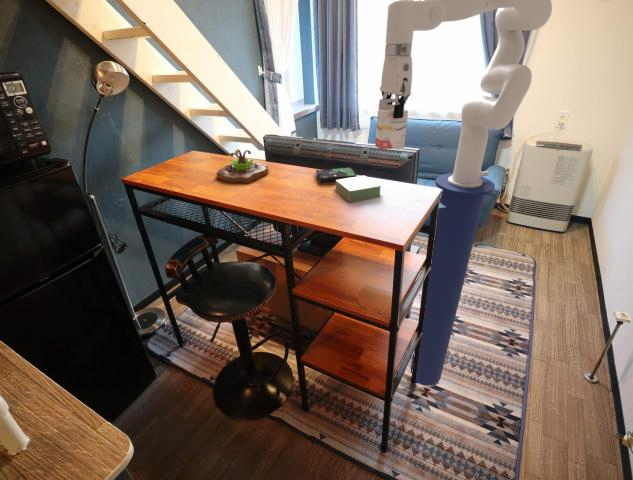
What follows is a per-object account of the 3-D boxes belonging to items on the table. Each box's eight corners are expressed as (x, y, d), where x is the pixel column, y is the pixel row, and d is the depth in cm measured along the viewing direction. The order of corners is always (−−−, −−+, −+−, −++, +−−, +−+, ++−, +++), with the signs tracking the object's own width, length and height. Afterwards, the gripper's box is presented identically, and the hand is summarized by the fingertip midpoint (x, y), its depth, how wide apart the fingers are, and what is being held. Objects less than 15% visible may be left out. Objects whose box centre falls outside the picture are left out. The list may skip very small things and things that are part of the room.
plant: (209, 180, 141) (204, 153, 136) (235, 165, 157) (231, 140, 151) (251, 185, 135) (248, 157, 129) (274, 169, 151) (271, 144, 145)
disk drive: (320, 185, 134) (356, 181, 136) (319, 178, 133) (357, 174, 134) (315, 176, 143) (350, 172, 145) (315, 169, 141) (350, 166, 143)
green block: (363, 185, 132) (364, 175, 130) (379, 196, 123) (380, 185, 121) (335, 190, 129) (335, 179, 127) (349, 202, 119) (349, 191, 117)
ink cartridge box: (379, 149, 111) (383, 101, 104) (374, 146, 115) (377, 99, 108) (404, 148, 112) (410, 99, 105) (399, 144, 117) (403, 97, 109)
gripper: (427, 51, 94) (418, 120, 103) (392, 50, 108) (387, 111, 117) (404, 52, 92) (397, 122, 101) (371, 51, 106) (368, 112, 115)
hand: (392, 115), depth 109 cm, fingers closed on ink cartridge box, 5 cm apart
